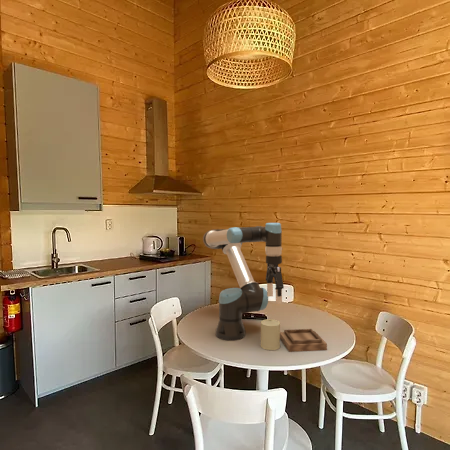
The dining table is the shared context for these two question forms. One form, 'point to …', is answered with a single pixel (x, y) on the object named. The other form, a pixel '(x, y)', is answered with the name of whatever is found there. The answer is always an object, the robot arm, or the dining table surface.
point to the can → (270, 334)
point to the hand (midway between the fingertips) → (274, 299)
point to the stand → (302, 340)
